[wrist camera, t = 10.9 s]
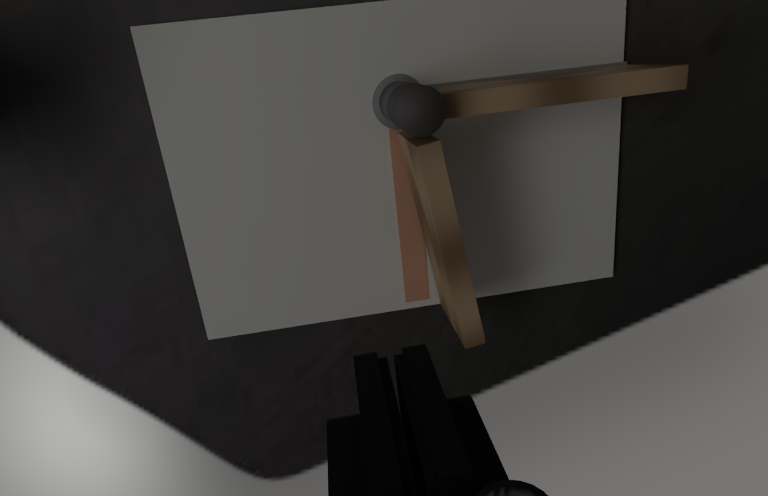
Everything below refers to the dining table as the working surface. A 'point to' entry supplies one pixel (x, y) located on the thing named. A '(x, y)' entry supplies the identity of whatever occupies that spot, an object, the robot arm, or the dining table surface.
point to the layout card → (378, 153)
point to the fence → (520, 94)
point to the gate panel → (442, 234)
